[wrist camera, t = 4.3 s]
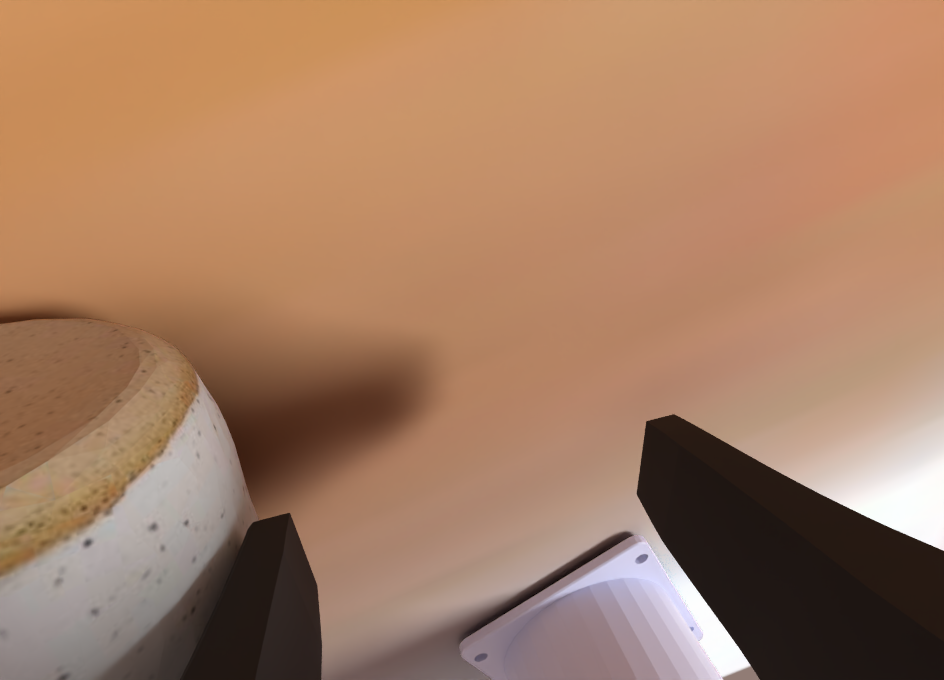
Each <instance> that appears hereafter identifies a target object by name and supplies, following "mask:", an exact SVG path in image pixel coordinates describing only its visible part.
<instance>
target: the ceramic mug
mask: <svg viewBox="0 0 944 680" xmlns="http://www.w3.org/2000/svg"><path fill="white" fill-rule="evenodd" d="M256 521H259V518H258V516H257V513H256V511H255V508H254V506H253V503H252V501H251V498H250V495H249V492H248V489H247V486H246V483H245V479H244V476H243V472H242V469H241V465H240V462H239V458H238V455H237V451H236V447H235V444H234V442H233V439H232V437H231V434H230V432H229V429H228V427H227V424H226V422H225V420H224V418H223V416H222V414H221V411H220V409H219V407H218V405H217V404H216V402H215V401H214V399H213V398H212V396H211V395H210V393H209V392H208V390H207V389H206V387H205V385H204V384H203V382H202V381H201V379H200V377H199V376H198V374H197V373H196V371H195V369H194V368H193V366H192V365H191V363H190V362H189V361H188V360H187V359H186V357H185V356H184V355H183V354H182V353H181V352H180V351H179V350H178V349H176V348H175V347H174V346H172V345H171V344H169V343H168V342H166V341H165V340H163V339H161V338H159V337H157V336H155V335H152V334H150V333H148V332H146V331H144V330H142V329H138V328H133V327H129V326H125V325H121V324H117V323H112V322H106V321H101V320H95V319H85V318H72V319H33V320H26V321H19V322H11V323H3V324H0V680H180V678H181V676H182V674H183V672H184V670H185V668H186V666H187V664H188V662H189V660H190V658H191V656H192V654H193V652H194V650H195V648H196V646H197V644H198V642H199V640H200V637H201V635H202V633H203V631H204V629H205V627H206V625H207V623H208V621H209V619H210V616H211V614H212V612H213V610H214V608H215V606H216V604H217V601H218V599H219V597H220V595H221V592H222V590H223V588H224V586H225V583H226V581H227V579H228V576H229V574H230V572H231V569H232V567H233V565H234V562H235V560H236V557H237V555H238V552H239V550H240V548H241V545H242V543H243V540H244V537H245V535H246V532H247V530H248V528H249V527H250V525H251V524H252V523H253V522H256Z"/></svg>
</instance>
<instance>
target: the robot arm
mask: <svg viewBox="0 0 944 680" xmlns="http://www.w3.org/2000/svg"><path fill="white" fill-rule="evenodd" d="M637 496H638V498H639V499H640V501H641V503H642V505H643V507H644V509H645V511H646V513H647V514H648V516H649V518H650V520H651V522H652V524H653V525H654V527H655V529H656V531H657V532H658V534H659V536H660V538H661V539H662V541H663V542H664V544H665V545H666V547H667V548H668V550H669V551H670V553H671V554H672V555H673V557H674V558H675V560H676V561H677V562H678V564H679V565H680V567H681V568H682V569H683V571H684V572H685V574H686V575H687V576H688V578H689V579H690V581H691V582H692V583H693V585H694V586H695V588H696V589H697V590H698V592H699V593H700V594H701V596H702V597H703V599H704V600H705V601H706V603H707V604H708V606H709V607H710V608H711V610H712V611H713V612H714V614H715V615H716V617H717V618H718V619H719V621H720V622H721V623H722V625H723V626H724V628H725V629H726V630H727V632H728V633H729V635H730V636H731V637H732V639H733V640H734V641H735V643H736V644H737V646H738V647H739V648H740V650H741V651H742V653H743V654H744V656H745V657H746V659H747V660H748V662H749V663H750V665H751V666H752V668H753V669H754V671H755V672H756V674H757V676H758V677H759V679H760V680H944V551H943V550H940V549H938V548H936V547H933V546H931V545H929V544H926V543H924V542H922V541H920V540H917V539H915V538H913V537H910V536H908V535H906V534H903V533H901V532H899V531H896V530H894V529H892V528H889V527H887V526H885V525H883V524H881V523H879V522H876V521H874V520H872V519H870V518H868V517H866V516H864V515H861V514H859V513H857V512H855V511H853V510H851V509H849V508H847V507H845V506H843V505H841V504H839V503H837V502H835V501H833V500H831V499H829V498H827V497H825V496H823V495H821V494H819V493H817V492H815V491H813V490H811V489H809V488H807V487H805V486H804V485H802V484H800V483H798V482H796V481H794V480H792V479H790V478H788V477H787V476H785V475H783V474H781V473H779V472H777V471H776V470H774V469H772V468H770V467H768V466H766V465H765V464H763V463H761V462H759V461H757V460H756V459H754V458H752V457H750V456H748V455H747V454H745V453H743V452H741V451H740V450H738V449H736V448H734V447H732V446H731V445H729V444H727V443H725V442H724V441H722V440H720V439H718V438H716V437H715V436H713V435H711V434H709V433H708V432H706V431H704V430H702V429H700V428H699V427H697V426H695V425H693V424H691V423H690V422H688V421H686V420H684V419H682V418H680V417H678V416H676V415H674V414H673V415H669V416H665V417H661V418H658V419H654V420H650V421H646V428H645V436H644V443H643V451H642V458H641V466H640V473H639V481H638V489H637ZM702 637H703V632H702V630H701V628H700V627H699V625H698V623H697V622H696V620H695V619H694V617H693V615H692V614H691V612H690V610H689V609H688V607H687V606H686V604H685V602H684V601H683V599H682V598H681V596H680V594H679V593H678V591H677V589H676V588H675V586H674V585H673V583H672V581H671V580H670V578H669V576H668V575H667V573H666V572H665V570H664V568H663V567H662V565H661V564H660V562H659V560H658V559H657V557H656V555H655V554H654V552H653V551H652V549H651V547H650V546H649V544H648V543H647V541H646V540H645V538H644V537H643V536H640V535H634V536H631V537H629V538H627V539H625V540H624V541H622V542H620V543H619V544H617V545H616V546H614V547H612V548H611V549H609V550H608V551H606V552H604V553H603V554H601V555H599V556H598V557H596V558H595V559H593V560H591V561H590V562H588V563H586V564H585V565H583V566H582V567H580V568H578V569H577V570H575V571H573V572H572V573H570V574H569V575H567V576H565V577H564V578H562V579H560V580H559V581H557V582H556V583H554V584H552V585H551V586H549V587H548V588H546V589H544V590H543V591H541V592H539V593H538V594H536V595H535V596H533V597H531V598H530V599H528V600H526V601H525V602H523V603H522V604H520V605H518V606H517V607H515V608H513V609H512V610H510V611H509V612H507V613H505V614H504V615H502V616H500V617H499V618H497V619H496V620H494V621H492V622H491V623H489V624H488V625H486V626H484V627H483V628H481V629H479V630H478V631H476V632H475V633H473V634H471V635H470V636H468V637H466V638H465V639H464V640H463V641H462V642H461V643H460V645H459V649H460V653H461V657H462V658H463V659H464V660H466V661H467V662H468V663H470V664H471V665H473V666H474V667H475V668H477V669H478V670H480V671H481V672H483V673H484V674H485V675H487V676H488V677H490V678H491V679H492V680H723V678H722V677H721V675H720V674H719V672H718V671H717V669H716V668H715V666H714V665H713V663H712V662H711V660H710V658H709V657H708V655H707V654H706V652H705V651H704V649H703V648H702V646H701V645H700V643H699V642H698V641H700V640H701V638H702ZM321 664H322V640H321V626H320V613H319V601H318V589H317V583H316V581H315V578H314V576H313V573H312V570H311V568H310V565H309V562H308V560H307V557H306V554H305V552H304V549H303V546H302V544H301V541H300V538H299V536H298V533H297V530H296V528H295V525H294V523H293V520H292V517H291V515H290V513H287V514H283V515H279V516H275V517H271V518H267V519H263V520H260V521H256V522H253V523H252V524H251V525H250V527H249V528H248V530H247V532H246V535H245V537H244V540H243V543H242V545H241V548H240V550H239V552H238V555H237V557H236V560H235V562H234V565H233V567H232V569H231V572H230V574H229V576H228V579H227V581H226V583H225V586H224V588H223V590H222V592H221V595H220V597H219V599H218V601H217V604H216V606H215V608H214V610H213V612H212V614H211V616H210V619H209V621H208V623H207V625H206V627H205V629H204V631H203V633H202V635H201V637H200V640H199V642H198V644H197V646H196V648H195V650H194V652H193V654H192V656H191V658H190V660H189V662H188V664H187V666H186V668H185V670H184V672H183V674H182V676H181V678H180V680H321Z"/></svg>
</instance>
